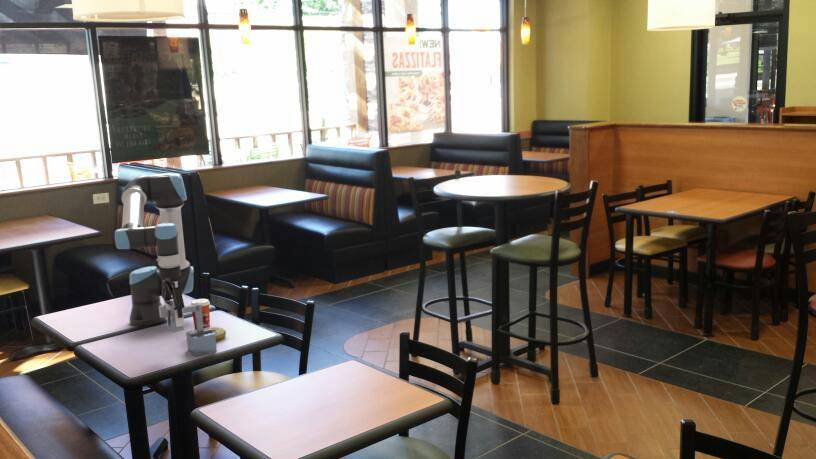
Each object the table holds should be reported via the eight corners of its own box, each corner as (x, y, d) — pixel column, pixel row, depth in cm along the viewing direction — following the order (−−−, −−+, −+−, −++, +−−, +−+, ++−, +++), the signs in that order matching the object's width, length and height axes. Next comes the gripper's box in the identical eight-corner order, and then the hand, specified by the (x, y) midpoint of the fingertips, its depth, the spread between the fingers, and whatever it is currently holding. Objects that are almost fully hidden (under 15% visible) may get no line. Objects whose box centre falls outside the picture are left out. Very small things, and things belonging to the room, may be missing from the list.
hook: (167, 327, 275) (164, 301, 273) (178, 325, 277) (175, 300, 275) (173, 332, 269) (170, 305, 267) (183, 330, 271) (181, 303, 270)
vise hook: (161, 355, 276) (155, 303, 273) (208, 344, 286) (204, 295, 283) (168, 362, 268) (163, 309, 265) (217, 351, 278) (212, 300, 274)
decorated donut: (194, 339, 295) (193, 330, 294) (219, 333, 301) (218, 324, 301) (204, 345, 287) (204, 335, 286) (230, 338, 293) (229, 329, 293)
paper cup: (209, 336, 296) (206, 303, 294) (190, 337, 296) (187, 303, 294) (215, 330, 304) (212, 297, 301) (196, 331, 304) (193, 298, 302)
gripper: (149, 261, 277) (155, 316, 281) (168, 273, 257) (174, 331, 260) (170, 258, 281) (175, 312, 285) (190, 269, 261) (195, 327, 264)
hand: (175, 321), depth 273 cm, fingers open, 13 cm apart
